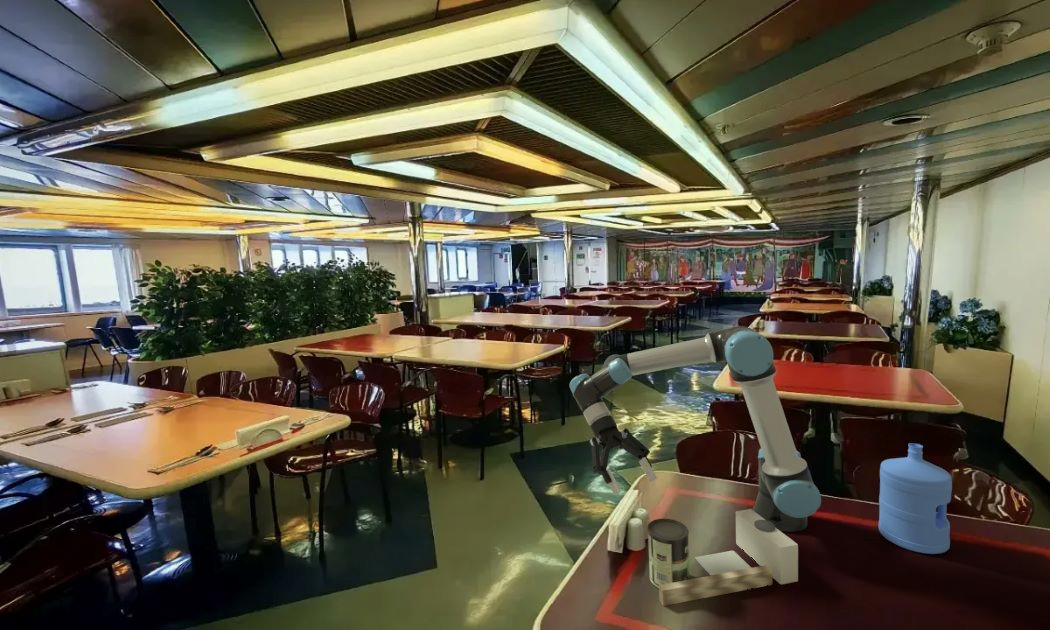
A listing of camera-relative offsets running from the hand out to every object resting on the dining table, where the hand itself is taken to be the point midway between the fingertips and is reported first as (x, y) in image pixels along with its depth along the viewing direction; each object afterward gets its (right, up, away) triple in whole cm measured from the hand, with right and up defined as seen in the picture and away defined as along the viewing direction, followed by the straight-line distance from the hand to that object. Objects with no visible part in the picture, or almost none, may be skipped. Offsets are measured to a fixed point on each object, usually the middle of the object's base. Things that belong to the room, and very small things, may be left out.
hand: (636, 486), depth 127 cm
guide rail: (+17, -22, -13) cm, 31 cm away
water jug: (+81, -17, +4) cm, 83 cm away
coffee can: (+7, -22, -7) cm, 24 cm away
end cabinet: (+27, -20, -4) cm, 34 cm away
